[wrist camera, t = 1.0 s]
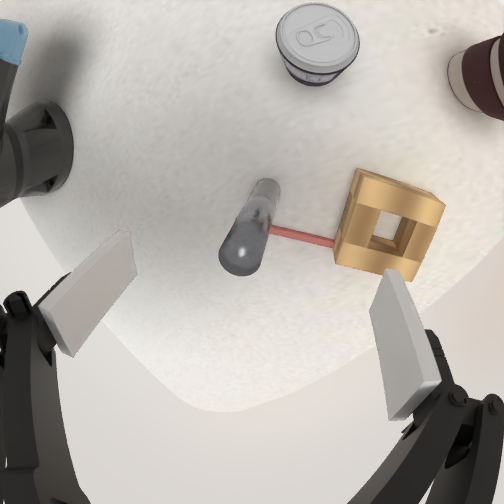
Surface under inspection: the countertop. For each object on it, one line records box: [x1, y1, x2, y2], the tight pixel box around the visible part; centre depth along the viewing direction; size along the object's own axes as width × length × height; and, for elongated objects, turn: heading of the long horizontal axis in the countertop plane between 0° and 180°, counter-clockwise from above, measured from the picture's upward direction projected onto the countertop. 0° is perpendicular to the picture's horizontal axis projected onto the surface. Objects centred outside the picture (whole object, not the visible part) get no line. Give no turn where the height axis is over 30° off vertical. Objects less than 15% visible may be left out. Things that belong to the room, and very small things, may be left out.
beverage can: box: [276, 2, 360, 86], centre depth 18 cm, size 6×6×12 cm
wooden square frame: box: [333, 168, 446, 282], centre depth 28 cm, size 10×10×4 cm
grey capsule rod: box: [219, 179, 280, 276], centre depth 24 cm, size 3×3×15 cm
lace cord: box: [235, 218, 335, 248], centre depth 33 cm, size 12×1×1 cm, turn 81°
